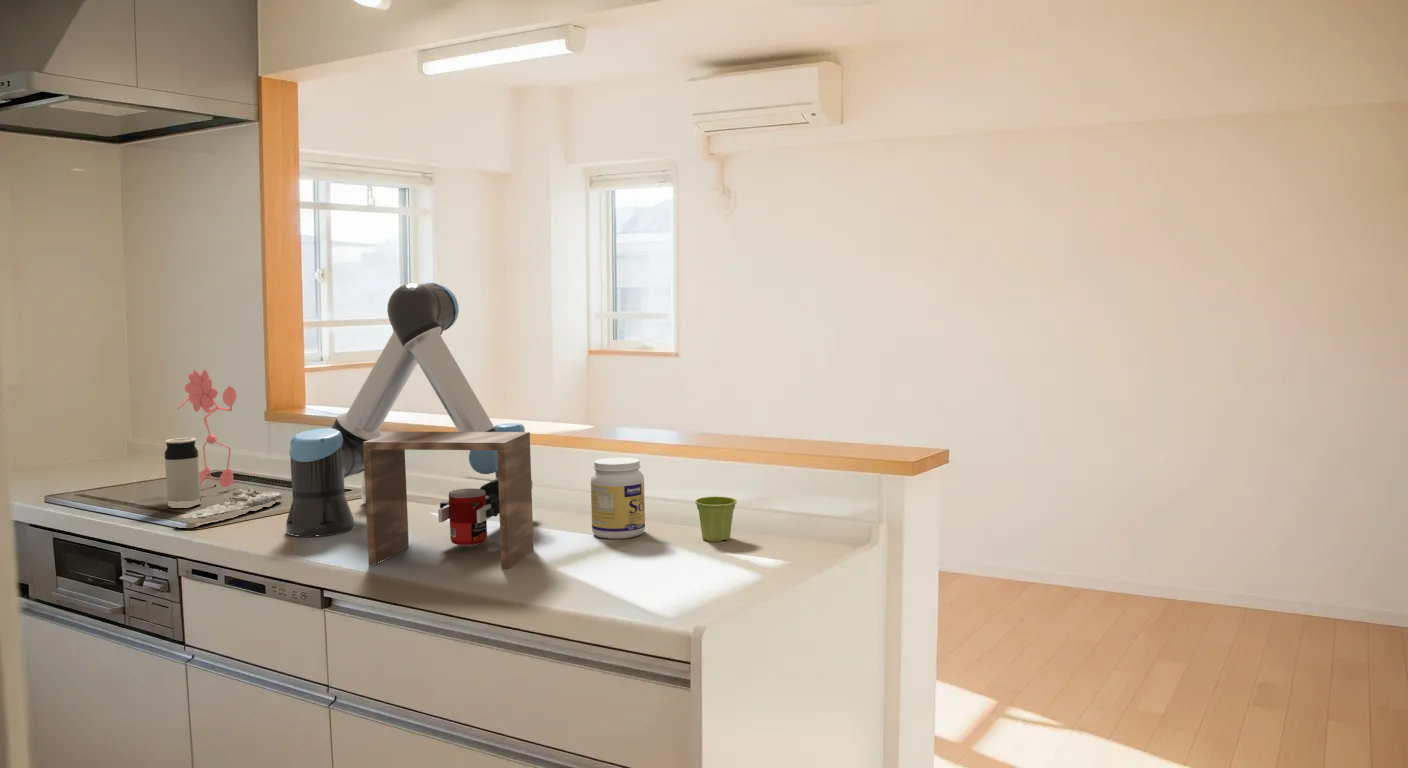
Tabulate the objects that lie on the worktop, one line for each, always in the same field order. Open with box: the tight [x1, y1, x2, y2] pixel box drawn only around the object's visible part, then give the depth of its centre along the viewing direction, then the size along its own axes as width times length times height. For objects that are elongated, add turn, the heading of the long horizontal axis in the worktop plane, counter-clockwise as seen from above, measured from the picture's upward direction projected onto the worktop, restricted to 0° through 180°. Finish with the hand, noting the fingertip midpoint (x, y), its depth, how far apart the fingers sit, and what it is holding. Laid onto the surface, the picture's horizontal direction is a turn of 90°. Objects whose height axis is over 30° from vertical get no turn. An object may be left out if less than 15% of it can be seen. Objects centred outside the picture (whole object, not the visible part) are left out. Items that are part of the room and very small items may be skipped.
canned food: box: [448, 487, 488, 546], centre depth 235 cm, size 8×8×11 cm
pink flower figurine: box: [177, 369, 237, 488], centre depth 308 cm, size 15×26×35 cm, turn 61°
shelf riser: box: [363, 431, 534, 569], centre depth 226 cm, size 30×16×26 cm, turn 81°
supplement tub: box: [590, 457, 646, 540], centre depth 246 cm, size 12×12×17 cm
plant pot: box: [694, 495, 738, 543], centre depth 239 cm, size 9×9×9 cm
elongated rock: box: [177, 488, 283, 518], centre depth 276 cm, size 35×5×10 cm
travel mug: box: [164, 437, 202, 502], centre depth 287 cm, size 8×8×18 cm
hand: (459, 516), depth 230 cm, fingers closed on canned food, 8 cm apart
